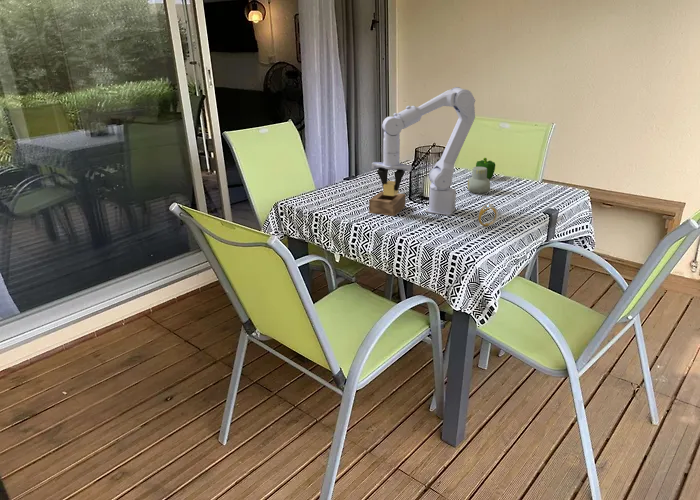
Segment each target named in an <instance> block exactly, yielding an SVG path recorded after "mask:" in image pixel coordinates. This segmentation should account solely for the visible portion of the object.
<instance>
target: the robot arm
mask: <svg viewBox="0 0 700 500" xmlns="http://www.w3.org/2000/svg"><path fill="white" fill-rule="evenodd" d="M475 103H476V98H475V97H474V95H473V93H472V92H471V90H469V89H464V88H462V87H460V86H455V87H453V88H451V89H448V90H445V91H444V92H442V93H440V94H438V95H437V96H434V97H432V98H431V99H429V100H428V101H426V102H424V103H422V104H421V105H419V106H415V105H411V106H410V105H407V106H405V109H403V110H401V111H399V112H394V113H393V114H392V115H393V116H386V118H384V120H383V121H382V124H381V127H382V130H383V147H382V149H383V151H382V152H383V153H382V155H383V161H381V162H379V161H373V162H371V169H377V171H376V172H377V175H378V177H379V179H380V181H381V185H382V186H383V184H384V183H386V182H387V181H388V174H389V170H390V171H392V170H393V171H394V173H393V174H394V181H395V191H397V190H400V186H401V182H402V179H403V177H404V174H405V173H406V172H408V173H409V172H411V171H412V167H413V166H412V165H411V164H405V163H400V159H401V158H400V154H401V153H400V151H401V150H400V149H401V143H400V141H401V139H400V135H401V134H400V133H401V132H402V130H405V129H407V128H408V127H410V126H413V125H415V124H416V123H418V122H420V121H421V119H422V116H424V115H427V114H429V113H431V112H433V111H435V110H437V109H440V108H442V107H451V108H453V109H454V111H455V112H456V115H457V117H458V119H457V120H456V123H455V125H454V127H453V130H452V132H451V134H450V136H449V139H448V141H447V143H446V145H445V148H444V150H443V152H442V155H441V157H440V159H439V160H437V161H436V162H435V164H434V167H433V168H432V169H430V171H429V172H428V180H429V181H430V182H431V183H430V185H429V193H428V195H429V196H428V197H429V198H428V203H429V204H428V207H427V209H425V213H428V214H429V213H430V214H436V215H445V216H451V215H452V214H453V212H454V211H455V210H456V199H457V190H456V189H455V188H451V185H452V183H453V175H454V171H455V170H454V169H455V168H454V165H455V163H456V161H457V159H458V156H459V154H460V152H461V150H462V147H463V145H464V143H465V141H466V139H467V136H468V134H469V132H470V130H471V128H472V125H473V123H474V122H475V120H476V119H475V118H476V114H475V113H476V109H475V108H476V107H475Z"/></svg>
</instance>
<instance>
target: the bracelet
mask: <svg viewBox="0 0 700 500" xmlns="http://www.w3.org/2000/svg"><path fill="white" fill-rule="evenodd" d="M488 210H492V211H493V213H494V216H493V220H492V221H491V222H490V223H487V222H486V223H483V221H482V217H483V215H484V214H485V212H487V211H488ZM498 217H499V212H498V209H497V208H496V207H495V205H494V204H492V203H486V204H484V205H483V206H482V207H481V208H480V209H479V211H478V215H477V221H478V223H479V224H480V225H481V226H483V227H486V228H489V227H491V226H492V225H494V224H495V223H496V222H497V220H498Z"/></svg>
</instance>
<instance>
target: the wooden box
mask: <svg viewBox="0 0 700 500" xmlns="http://www.w3.org/2000/svg"><path fill="white" fill-rule="evenodd" d="M406 202H407V201H406V193H400V192H398V193H397V194H396V195H395V196H388V195H383V190H382V191H380V192H378V193H377V194H375V195H374V196H372V197H371V198H370V199H369V200H368V204H369V205H368V211H369V212H368V213H370V214H378V215H384V216H392V217H395V216H396V215H398V214H399V213H400V212H402V210H403V209H404V208H405V207H406Z"/></svg>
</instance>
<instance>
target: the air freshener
mask: <svg viewBox="0 0 700 500" xmlns="http://www.w3.org/2000/svg"><path fill="white" fill-rule="evenodd" d="M490 181H491V179H488V178H487V168H485V167H476V166H474V167H472V172H471V177H470V178H468V179H467V190H468V191H469V192H470V193H472V194H486V193H487V192H490V189H491V182H490Z"/></svg>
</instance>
